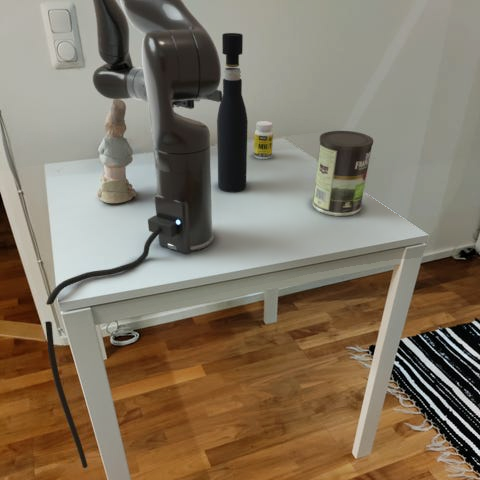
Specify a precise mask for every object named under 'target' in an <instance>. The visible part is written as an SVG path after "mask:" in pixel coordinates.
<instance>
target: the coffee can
mask: <svg viewBox="0 0 480 480" xmlns="http://www.w3.org/2000/svg"><path fill="white" fill-rule="evenodd" d="M373 144H374V139H373V137H371V136H370V135H367V134H365V133H363V132H357V131H353V130H352V131H351V130H331V131H330V130H329V131H327V132H324V133H321V134H319V146H318V154H317V164H316V172H315V181H314V190H313V192H314V193H313V200H312V204H311V205H312V207H313V209H315V210H317V212H319V213H322V214H325V215H328V216H335V217H349V216H353V215H356V214H357V213H359V212H360V211H361V209H362V202H363V196H364V191H365V185H366V179H367V174H368V170H369V164H370V159H371V153H372V147H373Z"/></svg>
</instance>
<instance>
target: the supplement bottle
mask: <svg viewBox="0 0 480 480" xmlns="http://www.w3.org/2000/svg"><path fill="white" fill-rule="evenodd" d="M255 125H256V127H255V128H256V130H255V131H254V139H253V140H254V141H253V157H254V158H256V159H259V160H267V159H270V158H272V156H273V154H272V153H273V145H274V144H273V142H274V132H273V122H271V121H266V120H259V121H257V122H256V124H255Z"/></svg>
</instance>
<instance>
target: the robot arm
mask: <svg viewBox="0 0 480 480" xmlns="http://www.w3.org/2000/svg"><path fill="white" fill-rule="evenodd" d="M118 1H119V3H118ZM118 1H117V0H92V3H93V8H94V13H95V19H96V34H97V35H96V36H97V49H98V54H99V56H100V58H101V60H102V61H103V62H105V63H104V64H102V65H101V66H99V67H98V68H96V69H95V70H94V72H93V75H92V83H93V86H94V89H95V90H96V91H97V92H98V93H99V94H100V95H101V96H102V97H104V98H106V99H111V100H114V99H120V100H125V99H126V100H128V99H134V100H138V101H141V102H144V103H146V104H148V114H149V123H150V130H151V131H150V132H151V137H152V138H151V139H152V148H153V158H154V168H155V179H156V191H157V194H155V195H154V206H155V215H153V216H151V217H149V218H148V219H147V226H148V231H149V232H150V233H151V234H150V235H149V237H148V238H147V239H146V241H145V243H144V246H143V250H142V253H141V255H140V256H139V257H138V258H137V259H135V260H134V261H132V262H129V263H126V264H123V265H119V266H116V267H113V268H108V269H99V270H93V271H88V272H83V273H81V274H79V275H75V276H72V277H70V278H67V279H65V280H63V281H61V282H60V283H58V285H56V287H54V289H52V291H51V292H50V294H49V296H48V298H47V301H46V303H45V304H46V305H48V306H50V305H52V304H54V302H55V300H56V298H57V297H58V295H59V294H60V293H61V291H63V290H64V289H65V288H67V287H68V286H71V285H73V284H77V283H79V282H81V281H84V280H87V279H91V278H96V277H105V276H112V275H115V274H119V273H122V272H126V271H128V270H132V269H134V268H136V267H138V265H140V264H141V263H143V262H144V261H145V260H146V259H147V258H148V256H149V252H150V247H151V245H152V243H153V242H154V240H156V238H157V237H158V245H159V246H161V247H164V248H167V249H170V250H173V251H177V252H179V253H182V254H188V253H190V252H193V251H199V250H203V249H205V248H207V247H209V246H210V245H211V244H212V243H213V241H214V235H213V233H214V232H213V217H212V216H213V215H212V214H213V211H212V176H211V175H212V174H211V171H212V170H211V169H212V168H211V134H210V133H211V132H210V129H209V127H208V126H207V124H205V123H203V122H201V121H199V120H196V119H192V118H189V117H185V116H182V115H180V114H179V113H177V112H175V110H174V108H180V107H181V108H185V109H188V110H192V109H195V102H200V101H201V100H209V101H211V102H212V101H213V102H217V103H221V99H222V96H223V91H222V90H220V89H218V88H219V86H220V84H221V79H222V66H221V60H220V55H219V53H218V50H217V47H216V44H215V43H214V40H213V39H212V37H211V35H210V33H209V32H208V30H206V28H205V27H204V26H203V25H202V24H201V23H200V21H198V19H197V18H196V17H195V16H194V15H193V14H192V13H191V12H190V10H189V9H188V7H187V6H186V5H185V3H184V2H183V0H118ZM120 5H121V6H120ZM128 21H129V22H128ZM129 23H130V24H131V26H133V28H134V29H136V31H138V32H139V33H140V34H142V35H144V36H143V39H142V42H141V64H142V65H141V66H142V67H139V66H134V64H133V61H132V57H131V54H130V27H129ZM44 323H45V333H46V343H47V344H46V345H47V351H48V358H49V363H50V368H51V372H52V376H53V380H54V384H55V387H56V392H57V394H58V397H59V398H58V399H59V400H60V403H61V406H62V409H63V412H64V416H65V418H66V421H67V424H68V426H69V429H70V432H71V435H72V438H73V440H74V443H75V446H76V449H77V451H78V455H79V458H80V463H81V465H82V468H83V469H87V468H88V462H87V459H86V455H85V451H84V448H83V445H82V442H81V439H80V436H79V433H78V430H77V427H76V424H75V421H74V418H73V416H72V413H71V410H70V407H69V404H68V401H67V398H66V395H65V391H64V388H63V384H62V380H61V376H60V372H59V367H58V363H57V358H56V349H55V343H54V332H53V322H52V321H49V320H48V321H45V322H44Z"/></svg>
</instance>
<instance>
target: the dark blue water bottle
mask: <svg viewBox="0 0 480 480" xmlns="http://www.w3.org/2000/svg"><path fill="white" fill-rule="evenodd" d="M221 39H222V43H221V44H222V45H221V46H222V47H221V48H222V49H221V50H222V54H223V55H225V66H226V67H225V68H224V71H223V73H224V74H223V77H224V78H223V79H222V99H221V102H219V107H218V111H217V117H216V137H217V139H216V140H217V141H216V143H217V145H216V147H217V187H218V189H219V190H221V191H222V192H225V193H238V192H242V191H244V190H246V188H247V169H248V168H247V167H248V165H247V164H248V121H249V120H248V114H247V108H246V104H245V101H244V97H243V89H242V88H243V80H242V78H241V77H242V74H241V73H242V71H241V68H240V67H239V66H240V55H243V48H244V47H243V43H244V42H243V39H244V35H243V33H239V32H238V33H237V32H225V33H222V37H221Z"/></svg>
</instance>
